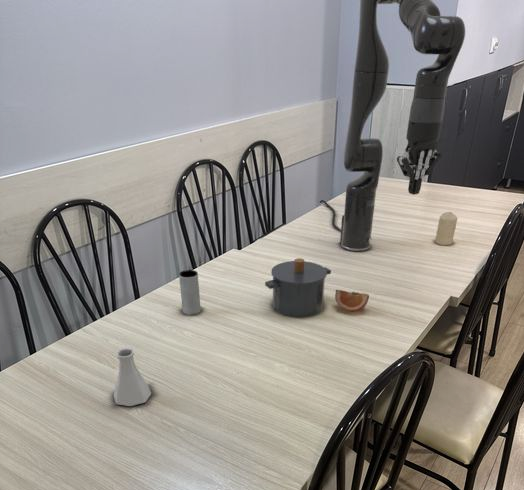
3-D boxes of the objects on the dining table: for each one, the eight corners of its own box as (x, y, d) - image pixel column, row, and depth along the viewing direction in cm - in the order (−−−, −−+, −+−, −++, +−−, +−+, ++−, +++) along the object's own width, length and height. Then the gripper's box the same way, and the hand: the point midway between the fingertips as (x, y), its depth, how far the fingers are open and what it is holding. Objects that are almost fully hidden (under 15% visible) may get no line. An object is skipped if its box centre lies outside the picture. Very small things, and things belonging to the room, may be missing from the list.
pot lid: (261, 271, 128) (261, 256, 126) (306, 261, 134) (306, 246, 132) (290, 291, 118) (291, 275, 116) (337, 279, 124) (339, 264, 122)
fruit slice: (331, 311, 128) (332, 293, 125) (338, 300, 133) (339, 283, 130) (363, 317, 125) (365, 299, 122) (369, 306, 130) (371, 288, 127)
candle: (453, 245, 167) (459, 216, 161) (435, 244, 168) (441, 215, 162) (451, 240, 171) (457, 211, 166) (434, 239, 172) (439, 210, 167)
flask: (116, 385, 101) (108, 343, 96) (153, 383, 101) (147, 341, 96) (110, 408, 95) (101, 364, 89) (149, 406, 95) (142, 362, 90)
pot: (255, 303, 131) (254, 271, 127) (312, 288, 139) (314, 257, 134) (280, 324, 122) (281, 290, 117) (340, 307, 130) (343, 274, 125)
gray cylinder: (187, 316, 125) (183, 278, 120) (179, 309, 129) (176, 272, 123) (203, 312, 127) (200, 274, 122) (195, 305, 131) (192, 268, 125)
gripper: (434, 114, 123) (422, 186, 132) (393, 118, 117) (383, 193, 127) (458, 118, 117) (443, 193, 127) (416, 123, 112) (404, 201, 121)
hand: (413, 193), depth 127 cm, fingers closed
